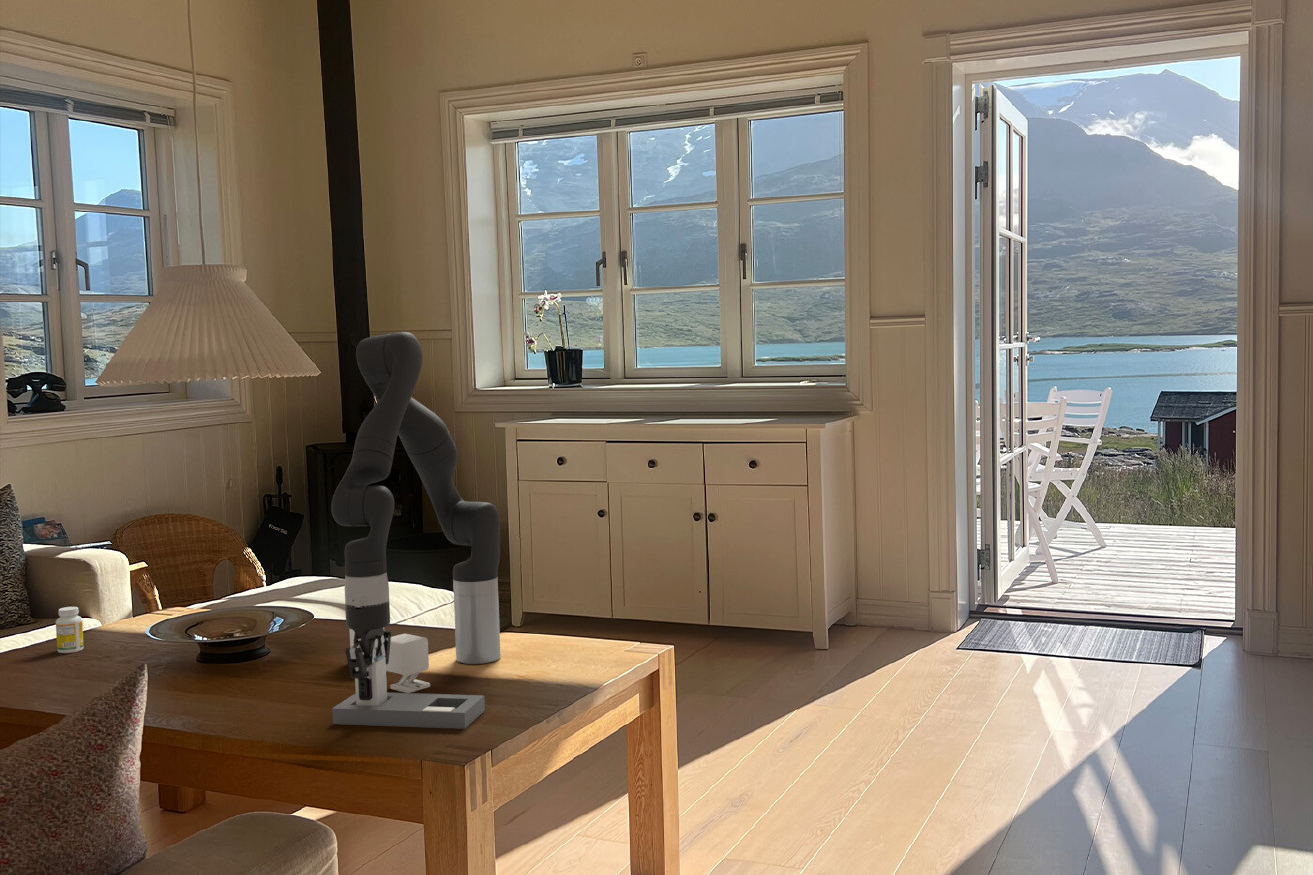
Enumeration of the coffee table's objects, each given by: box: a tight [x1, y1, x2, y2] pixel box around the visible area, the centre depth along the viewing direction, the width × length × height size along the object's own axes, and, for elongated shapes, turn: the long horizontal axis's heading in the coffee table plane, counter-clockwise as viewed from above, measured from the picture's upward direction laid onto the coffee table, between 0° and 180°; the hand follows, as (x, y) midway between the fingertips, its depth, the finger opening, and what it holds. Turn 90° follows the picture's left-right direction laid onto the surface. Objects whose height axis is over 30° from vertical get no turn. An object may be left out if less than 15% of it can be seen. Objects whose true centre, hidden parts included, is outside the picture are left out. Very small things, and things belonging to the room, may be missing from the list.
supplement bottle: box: [55, 606, 85, 654], centre depth 258 cm, size 5×5×10 cm
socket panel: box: [331, 692, 486, 730], centre depth 200 cm, size 10×24×4 cm, turn 79°
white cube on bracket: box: [386, 633, 431, 693], centre depth 219 cm, size 6×7×10 cm
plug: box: [354, 655, 388, 706], centre depth 201 cm, size 4×4×11 cm
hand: (371, 695), depth 202 cm, fingers closed on plug, 4 cm apart
